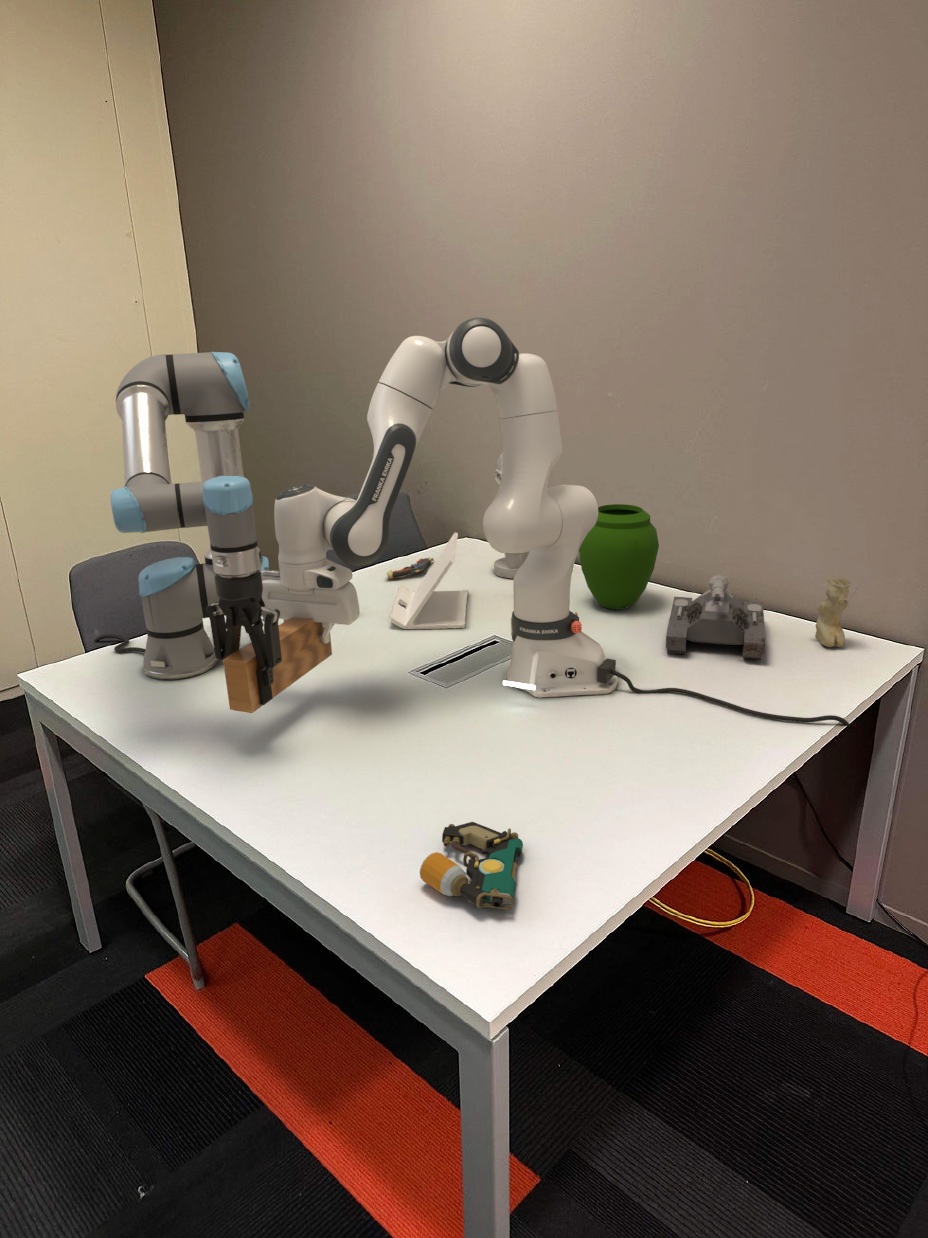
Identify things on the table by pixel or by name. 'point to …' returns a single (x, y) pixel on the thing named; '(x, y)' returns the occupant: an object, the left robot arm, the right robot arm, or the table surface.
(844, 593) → the sculpture
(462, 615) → the tablet stand
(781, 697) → the table surface
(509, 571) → the bust sculpture
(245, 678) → the bar
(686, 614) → the toy
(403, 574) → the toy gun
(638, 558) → the vase
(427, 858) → the spray gun
